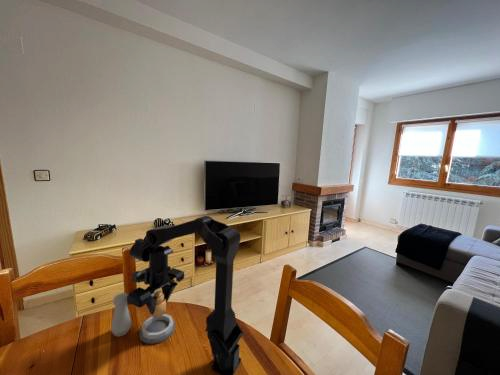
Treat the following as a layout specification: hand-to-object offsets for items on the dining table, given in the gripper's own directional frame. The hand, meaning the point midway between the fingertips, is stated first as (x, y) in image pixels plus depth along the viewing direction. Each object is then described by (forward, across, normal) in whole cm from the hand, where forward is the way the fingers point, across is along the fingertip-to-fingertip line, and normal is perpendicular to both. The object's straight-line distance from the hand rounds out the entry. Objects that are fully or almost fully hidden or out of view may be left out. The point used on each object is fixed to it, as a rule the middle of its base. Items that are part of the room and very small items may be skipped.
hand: (158, 309), depth 71 cm
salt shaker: (+8, +6, -10) cm, 14 cm away
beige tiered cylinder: (+1, 0, 0) cm, 1 cm away
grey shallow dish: (+8, 0, 0) cm, 8 cm away
